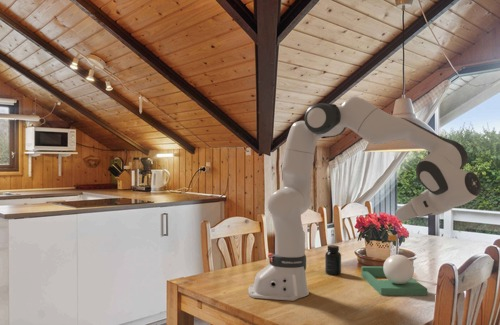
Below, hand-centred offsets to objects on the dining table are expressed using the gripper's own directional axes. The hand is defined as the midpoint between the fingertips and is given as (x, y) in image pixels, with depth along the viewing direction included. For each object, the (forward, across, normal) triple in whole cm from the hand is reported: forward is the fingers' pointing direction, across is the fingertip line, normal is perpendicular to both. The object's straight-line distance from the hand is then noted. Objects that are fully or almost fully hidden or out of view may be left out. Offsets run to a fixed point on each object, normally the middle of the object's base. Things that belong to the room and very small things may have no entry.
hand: (408, 212), depth 144 cm
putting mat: (+28, -1, +23) cm, 36 cm away
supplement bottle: (+48, +10, +11) cm, 50 cm away
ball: (+19, 0, +17) cm, 26 cm away
